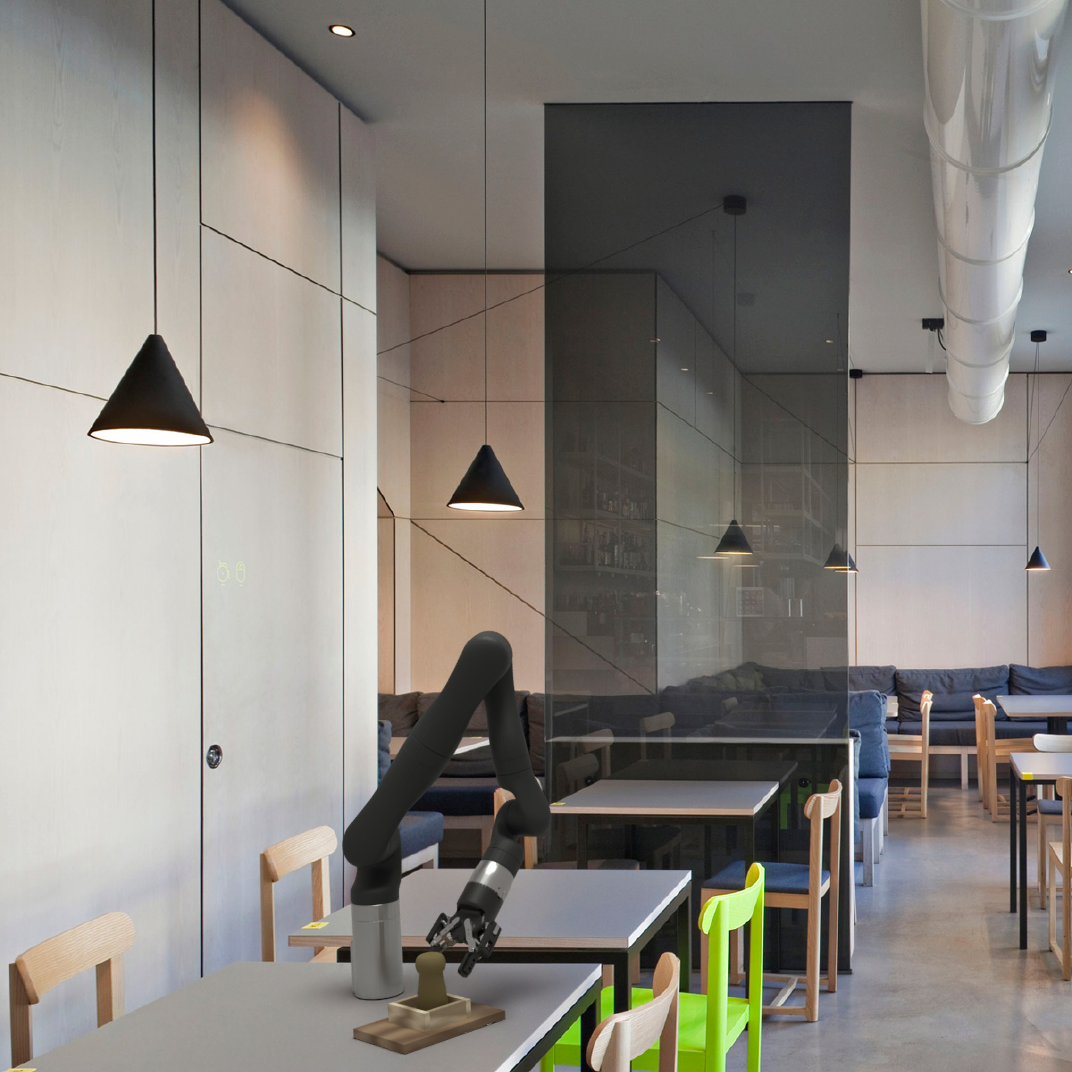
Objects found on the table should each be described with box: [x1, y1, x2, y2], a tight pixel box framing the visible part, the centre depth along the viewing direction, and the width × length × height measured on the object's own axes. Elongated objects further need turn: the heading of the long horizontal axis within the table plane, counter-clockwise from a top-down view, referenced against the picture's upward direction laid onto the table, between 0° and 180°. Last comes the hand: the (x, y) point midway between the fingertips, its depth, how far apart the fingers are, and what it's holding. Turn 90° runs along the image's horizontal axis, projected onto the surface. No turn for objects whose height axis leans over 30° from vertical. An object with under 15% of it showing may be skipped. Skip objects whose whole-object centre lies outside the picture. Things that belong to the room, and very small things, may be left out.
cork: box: [414, 951, 449, 1011], centre depth 210 cm, size 6×6×11 cm
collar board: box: [352, 992, 506, 1055], centre depth 210 cm, size 14×22×4 cm, turn 134°
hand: (444, 972), depth 213 cm, fingers open, 8 cm apart
